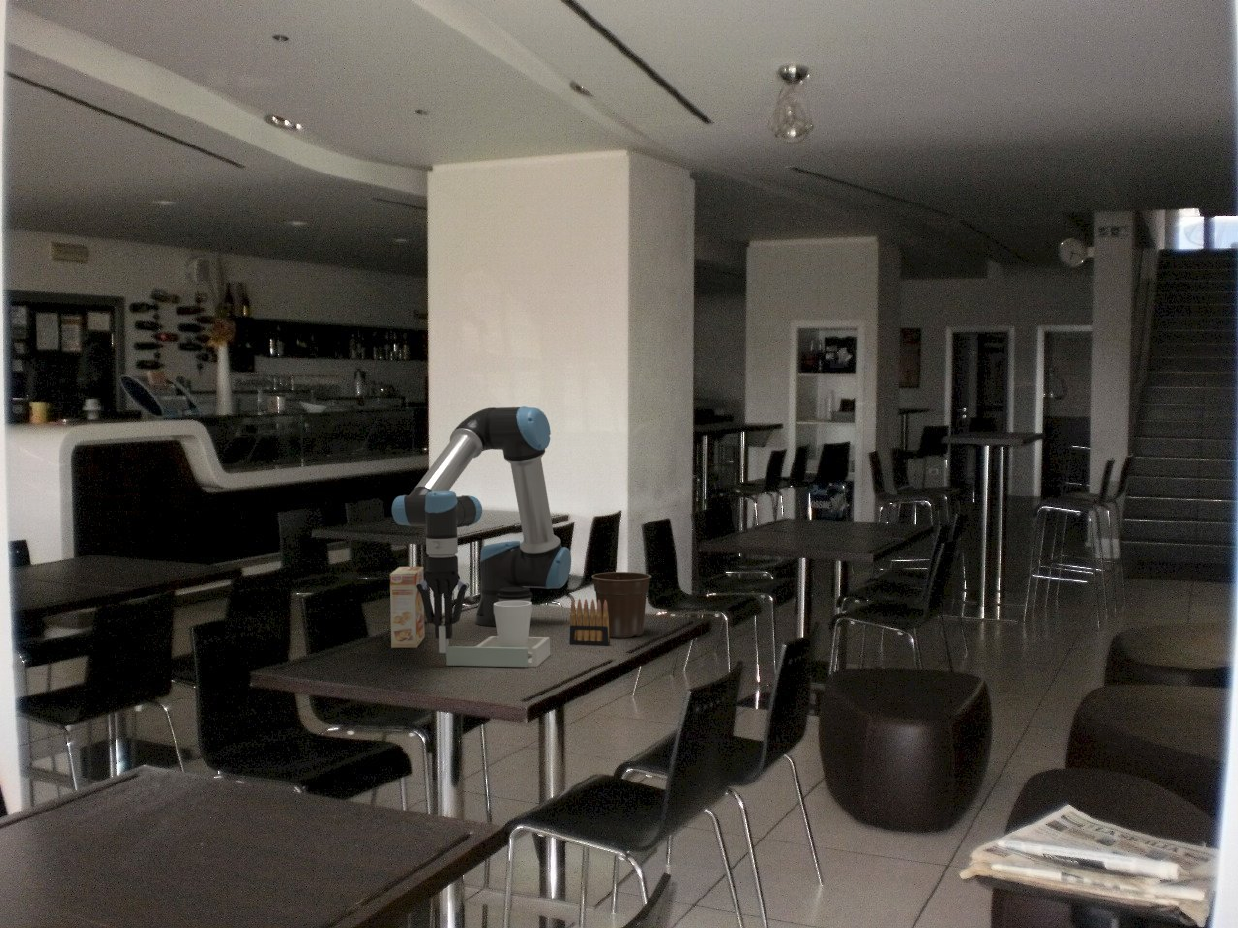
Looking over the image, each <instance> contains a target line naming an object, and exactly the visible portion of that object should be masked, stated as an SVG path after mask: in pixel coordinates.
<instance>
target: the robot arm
mask: <svg viewBox="0 0 1238 928" xmlns="http://www.w3.org/2000/svg"><path fill="white" fill-rule="evenodd" d="M551 434H552V432H551V426H550V422H549V420H548V418H547V416H546V414H545V412H544V411H543V410H541V408H539V407H531V406H529V407H528V406H527V405H526V406H511V407H509V406H508V407H507V406H506V407H505V406H503V407H501V406H500V407H495V406H494V407H490V406H489V407H486V408H481V409H480V410H477V411H476V412H474V413H472V414H471V415H469V416H468V417H466V418H465V419H464V420H462V421H461V422H460V423H459V424H458V425H457V426H456V427H455V428H454V430H453V431H452V432H451V434H450V435H449V442H448V444H446V446H445V448H444V449H443V450H442V451H441V453H440V454H439V456H438V457H437V458H436V460H434V462H433V464H432V465H431V466H430V467H429V469H428V470H427V472H426V473H425V474H424V475H423V476H422V478H421V479H420V481H419V482H418V484H417V485H416V486H415V487H414V489H413V490H412V491H411V493H410V494H409V495H408V494H403V495H398V496H396V497H395V498H394V500H393V501H392V505H391V515H392V518H393V520H394V522H395V523H396V524H398V525H401V526H402V525H403V526H410V527H412V526H419V527H422V526H425V531H426V533H425V544H426V545H425V546H426V547H425V548H426V551H425V552H426V554H427V555H428V556H427V557H426V576H425V577H424V581H423V582H422V583H419V584H417V585H416V588H417V589H418V591H419V592H420V594H421V598H422V602H423V606H424V615H425V617H426V621H427V623H429V624H432V625H434V633H435V639H438V642H439V645H438V646H439V654H446V647H447V646H450V645H449V641H450V639H452V638H453V625H454V624H456V623H458V622H460V621H461V616H462V615H461V614H462V611H463V606H464V600H465V597H466V596H465V595H466V593H467V591H468V589H469V588H470V584H469V582H467V583H465V582H464V581H462V580H461V577H460V575H459V557H458V556H457V555H456V554H457V553H458V552H459V550H458V548H459V546H458V528H461V527H470V526H473V525H474V524H476V523H477V522H479V520H480V519H481V517H482V514H483V507H482V503H481V502H480V500H479V499H478V498H477V497H476V496H474V495H465V494H462V495H460V496H459V495H458V496H457V494H456V492H455V491H453V490H451V489H452V487H453V486H454V485H455V483H456V482H457V481H458V479H459V478H460V477H461V475H462V474H463V472H464V471H465V469H466V468H467V467H468V465H469V464H470V463H471V461H472V460H473V459H476V458H478V457H479V456H480V455H481V454H482V453H483V452H485V451H488V450H499V451H502V456H503V459H504V460H505V461H506V462H507V463H508V464H510V469H511V474H512V480H513V485H514V491H515V497H516V502H517V508H518V514H519V519H520V525H521V531H522V535H523V536H522V537H523V541H522V542H521V541H520V540H511V541H505V542H504V541H503V542H498V543H491V544H490V543H489V544H486V545H484V546H483V547H482V548H480V549H481V550H480V560H479V563H480V565H479V566H480V592H481V593H480V594H481V595H480V600H479V603H478V606H477V610H476V613H475V624H477V625H480V626H486V627H496V620H495V614H494V603H497V602H499V598H497V594H498V593H499V589H501V588H506V587H526V588H531V589H532V588H533V589H547V590H550V589H561V588H562V587H563V586H564V585H565V584H566V582H567V581H568V579H569V576H570V571H571V567H572V554H571V551H570V550H569V548H567V547H565V546H563V547H562V543H561V539H560V537H558V536H557V535H555V534H554V533H555V532H554V527H553V521H552V516H551V510H550V509H551V508H550V503H549V498H548V497H549V496H548V492H547V487H546V479H545V473H544V467H543V462H542V461H543V460H542V457H543V456H544V455H545V453H546V449H548V447H549V445H550V442H551V436H550V435H551ZM456 587H457V590H458V592H457V595H456V600H455V604H454V608H453V591H454V590H455V589H456ZM429 588H430V590H431V591H432V593H433V594H432V596H433V597H432V598H433V605H432V601H431V597H430V592H429V590H428V589H429ZM443 603H444V606H443ZM443 607H444V608H443ZM443 609H444V611H443ZM443 612H444V621H443Z"/></svg>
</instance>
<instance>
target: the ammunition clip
mask: <svg viewBox="0 0 1238 928" xmlns="http://www.w3.org/2000/svg"><path fill="white" fill-rule="evenodd" d="M570 603H571V604H570V613H569V615H570V616H569V618H570V621H569V622H570V623H569V624H570V625H569V642H568V643H569V645H570V646H571V645H572V646H599V647H608V646H610V645H611V637H610V630H609V615H608V605H607V601H606V600H605V601H604V605H603V625H602V610H601V603H600V600H598V603H597V602H596V605H595V601H594V599H592V598H591V601H590V605H589V602H588V600H587V599H586V598H585V600H584V604H582V601H581V599H580V598H579V599H578V602H577V605H576V602H575V600H574V598H572V599H571V602H570ZM582 605H583V606H582ZM576 606H577V607H576ZM589 606H590V609H589ZM576 609H577V610H576ZM589 610H590V611H589Z"/></svg>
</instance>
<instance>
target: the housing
mask: <svg viewBox="0 0 1238 928" xmlns="http://www.w3.org/2000/svg"><path fill="white" fill-rule="evenodd" d="M475 647H499V640H498V635H494V636H493V635H491V636H489V637H487V638H485V639H484V640H483V641H481V642H480V643H479V644H477V645H475ZM527 648H528V667H527V668H537V667H538V666H540V665H541V664H542V663H543V662H544V661H545V660H546V659H548V658H549V656H551V637H550V636H528V646H527Z"/></svg>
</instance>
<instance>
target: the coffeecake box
mask: <svg viewBox="0 0 1238 928" xmlns="http://www.w3.org/2000/svg"><path fill="white" fill-rule="evenodd" d="M389 580H390V581H389V593H390V598H389V599H390V600H389V601H390V602H389V604H390V642H391V643H390V648H391V649H397V648H399V649H401V648H402V649H403V648H404V649H405V648H406V649H407V648H413V649H414V648H418V646H419V645H420V644H421V643H422V641H423V640H424V638H425V610H424V606H423V602H422V598H421V594H420V592H419V591H418V589H417V588H416V585H417V584H419V583H422V582H423V581H424V580H425V578H424V566H399V567H397V568H396V569H395V570H393V571H391V573H389Z"/></svg>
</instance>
